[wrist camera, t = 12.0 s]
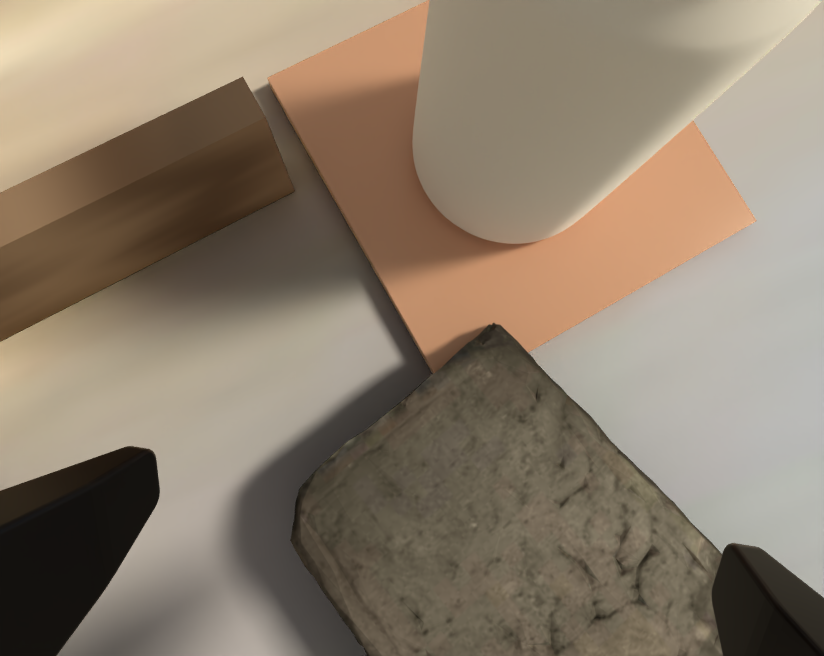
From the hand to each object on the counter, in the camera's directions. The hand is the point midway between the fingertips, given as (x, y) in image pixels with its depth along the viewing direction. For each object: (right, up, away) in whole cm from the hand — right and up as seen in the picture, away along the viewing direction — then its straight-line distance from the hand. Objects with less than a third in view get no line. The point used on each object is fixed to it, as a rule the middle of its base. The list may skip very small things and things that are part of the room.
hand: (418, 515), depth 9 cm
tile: (+3, +9, +11) cm, 14 cm away
